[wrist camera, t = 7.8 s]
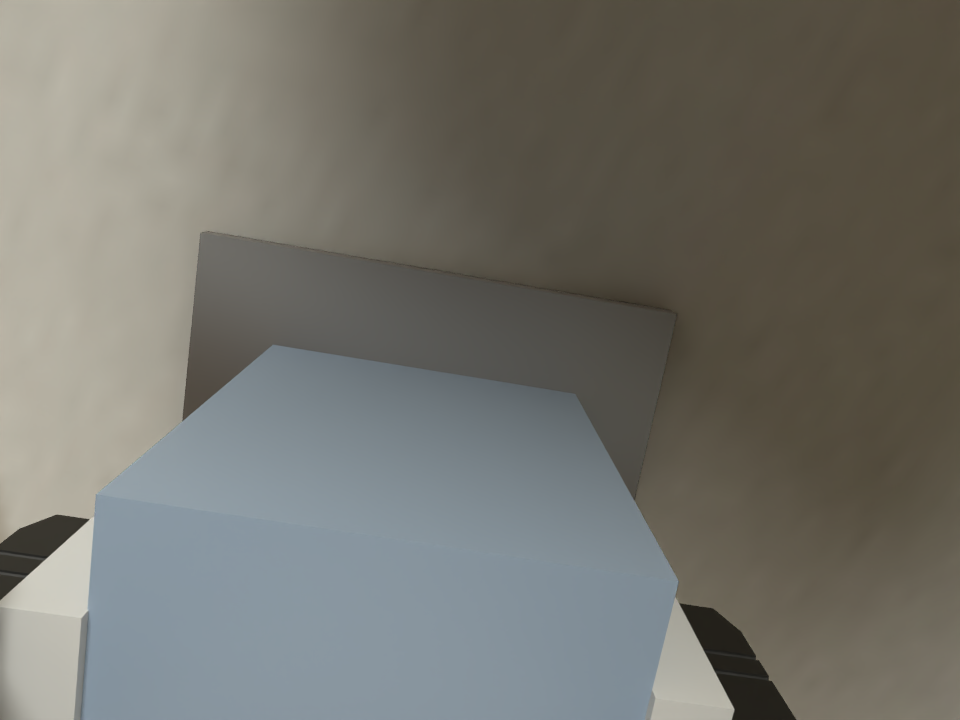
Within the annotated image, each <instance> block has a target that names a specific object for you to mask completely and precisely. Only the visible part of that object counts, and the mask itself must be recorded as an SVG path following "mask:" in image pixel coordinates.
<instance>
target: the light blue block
mask: <svg viewBox="0 0 960 720" xmlns="http://www.w3.org/2000/svg"><path fill="white" fill-rule="evenodd" d="M678 583H679V581H678V579H677V577H676V575H675V574H674V572H673V570H672V568H671V566H670V565H669V563H668V561H667V559H666V557H665V555H664V554H663V552H662V550H661V548H660V546H659V545H658V543H657V541H656V539H655V537H654V536H653V534H652V532H651V530H650V528H649V526H648V525H647V523H646V521H645V519H644V517H643V516H642V514H641V512H640V510H639V508H638V507H637V505H636V503H635V501H634V499H633V498H632V496H631V494H630V492H629V490H628V488H627V487H626V485H625V483H624V481H623V479H622V478H621V476H620V474H619V472H618V470H617V469H616V467H615V465H614V463H613V461H612V459H611V458H610V456H609V454H608V452H607V450H606V449H605V447H604V445H603V443H602V441H601V440H600V438H599V436H598V434H597V432H596V431H595V429H594V427H593V425H592V423H591V421H590V420H589V418H588V416H587V414H586V412H585V411H584V409H583V407H582V405H581V403H580V402H579V400H578V398H577V396H576V394H573V393H567V392H561V391H555V390H549V389H542V388H536V387H530V386H524V385H518V384H512V383H506V382H500V381H493V380H487V379H481V378H475V377H469V376H463V375H457V374H450V373H444V372H438V371H432V370H426V369H420V368H413V367H407V366H401V365H395V364H389V363H383V362H377V361H370V360H364V359H358V358H352V357H346V356H340V355H334V354H327V353H321V352H315V351H309V350H303V349H297V348H291V347H284V346H278V345H272V346H271V347H270V348H268V349H267V350H266V351H265V352H264V353H263V354H261V355H260V356H259V357H258V358H257V359H256V360H254V361H253V362H252V363H251V364H250V365H248V366H247V367H246V368H245V369H244V370H243V371H241V372H240V373H239V374H238V375H237V376H235V377H234V378H233V379H232V380H231V381H230V382H228V383H227V384H226V385H225V386H224V387H222V388H221V389H220V390H219V391H218V392H217V393H215V394H214V395H213V396H212V397H211V398H209V399H208V400H207V401H206V402H205V403H204V404H202V405H201V406H200V407H199V408H198V409H196V410H195V411H194V412H193V413H192V414H191V415H189V416H188V417H187V418H186V419H185V420H183V421H182V422H181V423H180V424H179V425H178V426H176V427H175V428H174V429H173V430H172V431H170V432H169V433H168V434H167V435H166V436H165V437H163V438H162V439H161V440H160V441H159V442H157V443H156V444H155V445H154V446H153V447H152V448H150V449H149V450H148V451H147V452H146V453H144V454H143V455H142V456H141V457H140V458H139V459H137V460H136V461H135V462H134V463H133V464H131V465H130V466H129V467H128V468H127V469H126V470H124V471H123V472H122V473H121V474H120V475H119V476H117V477H116V478H115V479H114V480H113V481H111V482H110V483H109V484H108V485H107V486H106V487H104V488H103V489H102V490H101V491H100V492H98V493H97V494H96V501H95V515H94V528H93V542H92V555H91V568H90V582H89V595H88V609H87V610H89V611H88V624H87V637H86V650H85V664H84V677H83V690H82V703H81V717H80V720H645V716H646V712H647V708H648V704H649V700H650V696H651V692H652V688H653V684H654V680H655V676H656V672H657V668H658V664H659V660H660V656H661V652H662V648H663V644H664V640H665V636H666V632H667V628H668V624H669V620H670V616H671V612H672V607H673V603H674V599H675V595H676V591H677V587H678Z"/></svg>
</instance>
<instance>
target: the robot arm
mask: <svg viewBox="0 0 960 720" xmlns="http://www.w3.org/2000/svg"><path fill="white" fill-rule="evenodd" d="M93 528H94V516H93V517H92V518H91V519H83V518H77V517H70V516H63V515H55V516H52V517H49V518H47V519H44V520H41V521H39V522H36V523H34V524H31V525H28V526H26V527H23V528H21V529H19V530H17V531H16V532H15V533H13V534H12V535H11V536H10V537H8V538H7V539H6V540H4V541H3V542H2V543H1V544H0V720H80V717H81V703H82V690H83V677H84V664H85V650H86V637H87V624H88V611H89V610H87V609H88V595H89V582H90V568H91V555H92V542H93ZM768 677H769V676H768V674H767V673H766V671H765V669H764V668H763V666H762V665H761V663H760V662H759V660H756V655H755V654H754V652H753V650H752V649H751V647H750V646H749V644H748V642H747V641H746V639H745V638H744V636H743V634H742V633H741V631H740V630H738V629H737V628H736V627H735V626H733V625H732V624H731V623H730V622H729V621H727V620H726V619H725V618H724V617H723V616H721V615H720V614H719V613H718V612H717V611H715V610H714V609H713V608H706V607H699V606H692V605H686V604H679V603H678V601H677V599H676V597H675V599H674V603H673V607H672V612H671V616H670V620H669V624H668V628H667V632H666V636H665V640H664V644H663V648H662V652H661V656H660V660H659V664H658V668H657V672H656V676H655V680H654V684H653V688H652V692H651V696H650V700H649V704H648V708H647V712H646V716H645V720H796V719H795V717H794V716H793V714H792V712H791V711H790V709H789V708H788V706H787V704H786V703H785V701H784V700H783V698H782V696H781V695H780V693H779V692H778V690H777V689H776V687H775V685H774V684H773V682H772V681H769V680H768Z"/></svg>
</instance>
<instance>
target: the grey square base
mask: <svg viewBox="0 0 960 720" xmlns="http://www.w3.org/2000/svg"><path fill="white" fill-rule="evenodd" d="M676 317H677V314H676V313H674V312H673V311H671V310H665V309H659V308H653V307H647V306H642V305H636V304H630V303H624V302H618V301H612V300H607V299H601V298H595V297H589V296H583V295H577V294H572V293H566V292H560V291H554V290H548V289H542V288H536V287H531V286H525V285H519V284H513V283H507V282H501V281H496V280H490V279H484V278H478V277H472V276H466V275H461V274H455V273H449V272H443V271H437V270H431V269H425V268H420V267H414V266H408V265H402V264H396V263H390V262H385V261H379V260H373V259H367V258H361V257H355V256H350V255H344V254H338V253H332V252H326V251H320V250H314V249H309V248H303V247H297V246H291V245H285V244H279V243H274V242H268V241H262V240H256V239H250V238H244V237H238V236H233V235H227V234H221V233H215V232H209V231H207V232H202V233H200V243H199V254H198V264H197V275H196V285H195V295H194V306H193V316H192V327H191V337H190V347H189V358H188V368H187V378H186V389H185V399H184V410H183V420H185V419H186V418H187V417H188V416H189V415H191V414H192V413H193V412H194V411H195V410H196V409H198V408H199V407H200V406H201V405H202V404H204V403H205V402H206V401H207V400H208V399H209V398H211V397H212V396H213V395H214V394H215V393H217V392H218V391H219V390H220V389H221V388H222V387H224V386H225V385H226V384H227V383H228V382H230V381H231V380H232V379H233V378H234V377H235V376H237V375H238V374H239V373H240V372H241V371H243V370H244V369H245V368H246V367H247V366H248V365H250V364H251V363H252V362H253V361H254V360H256V359H257V358H258V357H259V356H260V355H261V354H263V353H264V352H265V351H266V350H267V349H268V348H270V347H271V346H272V345H278V346H284V347H291V348H297V349H303V350H309V351H315V352H321V353H327V354H334V355H340V356H346V357H352V358H358V359H364V360H370V361H377V362H383V363H389V364H395V365H401V366H407V367H413V368H420V369H426V370H432V371H438V372H444V373H450V374H457V375H463V376H469V377H475V378H481V379H487V380H493V381H500V382H506V383H512V384H518V385H524V386H530V387H536V388H542V389H549V390H555V391H561V392H567V393H573V394H576V396H577V398H578V400H579V402H580V403H581V405H582V407H583V409H584V411H585V412H586V414H587V416H588V418H589V420H590V421H591V423H592V425H593V427H594V429H595V431H596V432H597V434H598V436H599V438H600V440H601V441H602V443H603V445H604V447H605V449H606V450H607V452H608V454H609V456H610V458H611V459H612V461H613V463H614V465H615V467H616V469H617V470H618V472H619V474H620V476H621V478H622V479H623V481H624V483H625V485H626V487H627V488H628V490H629V492H630V494H631V496H632V498H633V499H634V500H635V495H636V491H637V487H638V482H639V478H640V474H641V469H642V465H643V461H644V456H645V452H646V448H647V443H648V439H649V435H650V430H651V426H652V421H653V417H654V413H655V408H656V404H657V400H658V395H659V391H660V387H661V382H662V378H663V374H664V369H665V365H666V361H667V356H668V352H669V348H670V343H671V339H672V335H673V330H674V326H675V322H676ZM183 420H182V421H183Z"/></svg>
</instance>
